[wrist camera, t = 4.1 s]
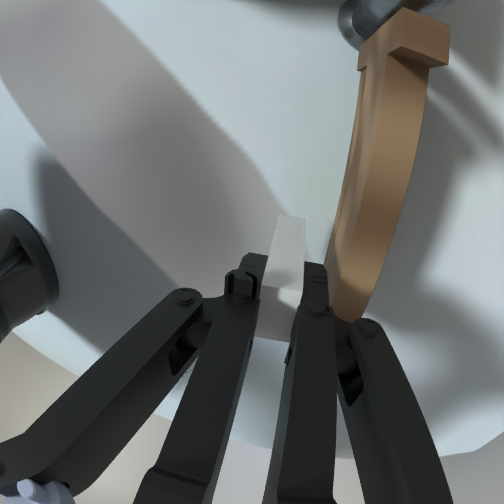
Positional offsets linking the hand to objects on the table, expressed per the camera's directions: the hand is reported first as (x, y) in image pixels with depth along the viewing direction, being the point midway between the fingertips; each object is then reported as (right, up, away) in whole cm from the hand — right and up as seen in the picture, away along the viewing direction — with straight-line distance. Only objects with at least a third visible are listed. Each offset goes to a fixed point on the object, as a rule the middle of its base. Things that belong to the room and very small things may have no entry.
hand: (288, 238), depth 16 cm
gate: (+4, +4, +1) cm, 6 cm away
